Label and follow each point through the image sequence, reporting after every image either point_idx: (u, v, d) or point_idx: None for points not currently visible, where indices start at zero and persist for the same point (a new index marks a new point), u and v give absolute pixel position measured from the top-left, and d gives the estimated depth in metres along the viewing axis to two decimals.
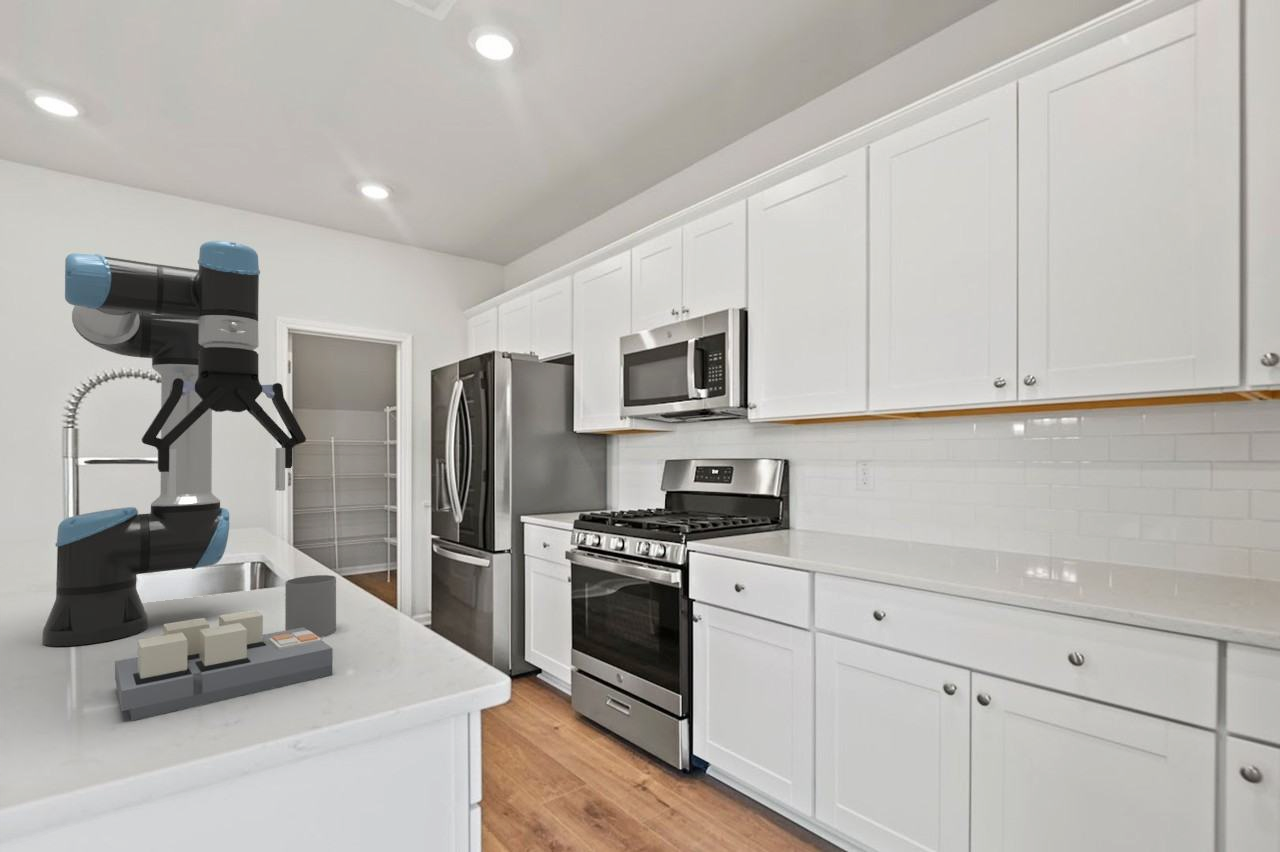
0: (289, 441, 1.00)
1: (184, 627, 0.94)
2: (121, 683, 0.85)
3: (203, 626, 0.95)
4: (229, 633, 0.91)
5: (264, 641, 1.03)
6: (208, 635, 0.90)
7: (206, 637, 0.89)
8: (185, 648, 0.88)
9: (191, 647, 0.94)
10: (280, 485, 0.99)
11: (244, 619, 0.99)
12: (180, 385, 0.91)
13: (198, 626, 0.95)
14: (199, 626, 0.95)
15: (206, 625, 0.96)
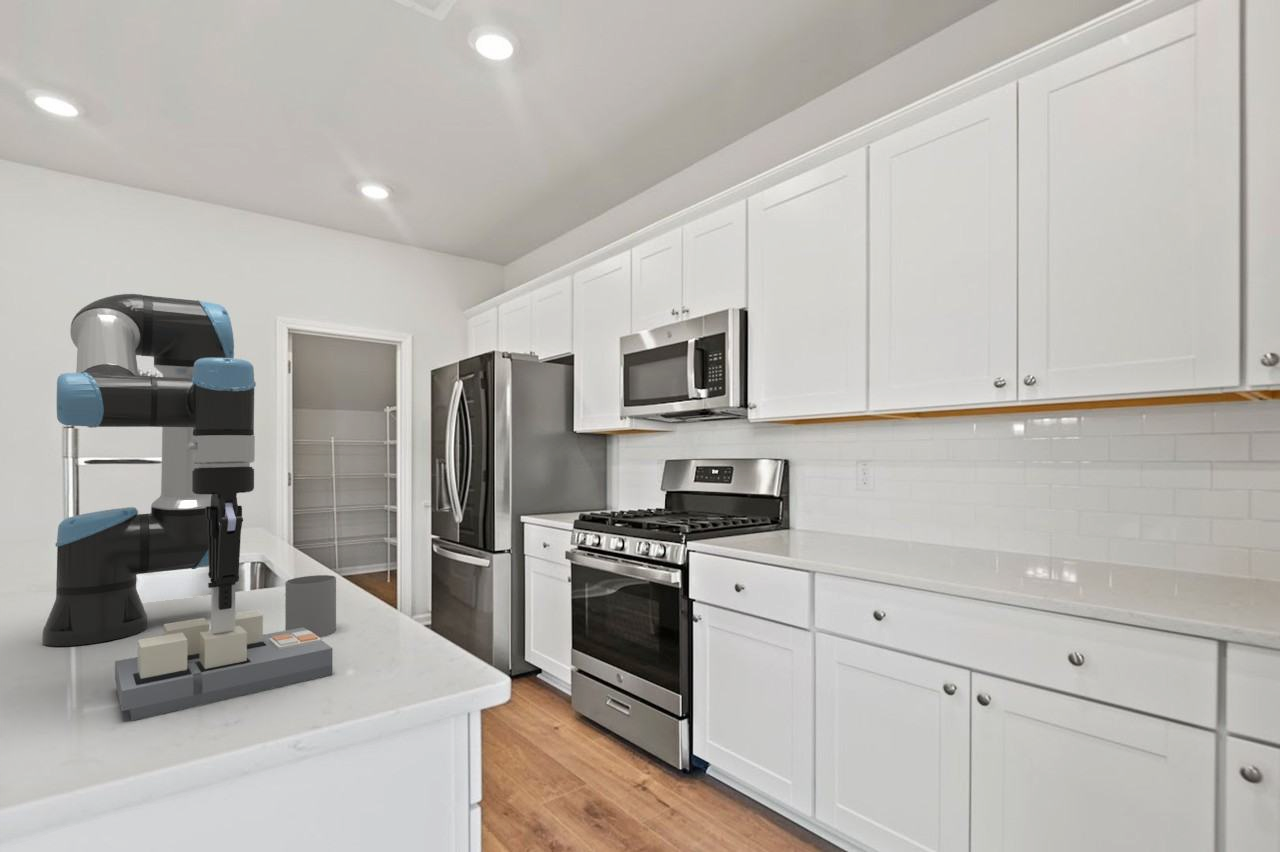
0: (214, 581, 0.91)
1: (184, 627, 0.94)
2: (121, 683, 0.85)
3: (203, 626, 0.95)
4: (229, 636, 0.91)
5: (264, 641, 1.03)
6: (208, 638, 0.90)
7: (206, 640, 0.89)
8: (185, 648, 0.88)
9: (191, 647, 0.94)
10: (212, 627, 0.92)
11: (244, 619, 0.99)
12: None
13: (198, 626, 0.95)
14: (199, 626, 0.95)
15: (206, 625, 0.96)
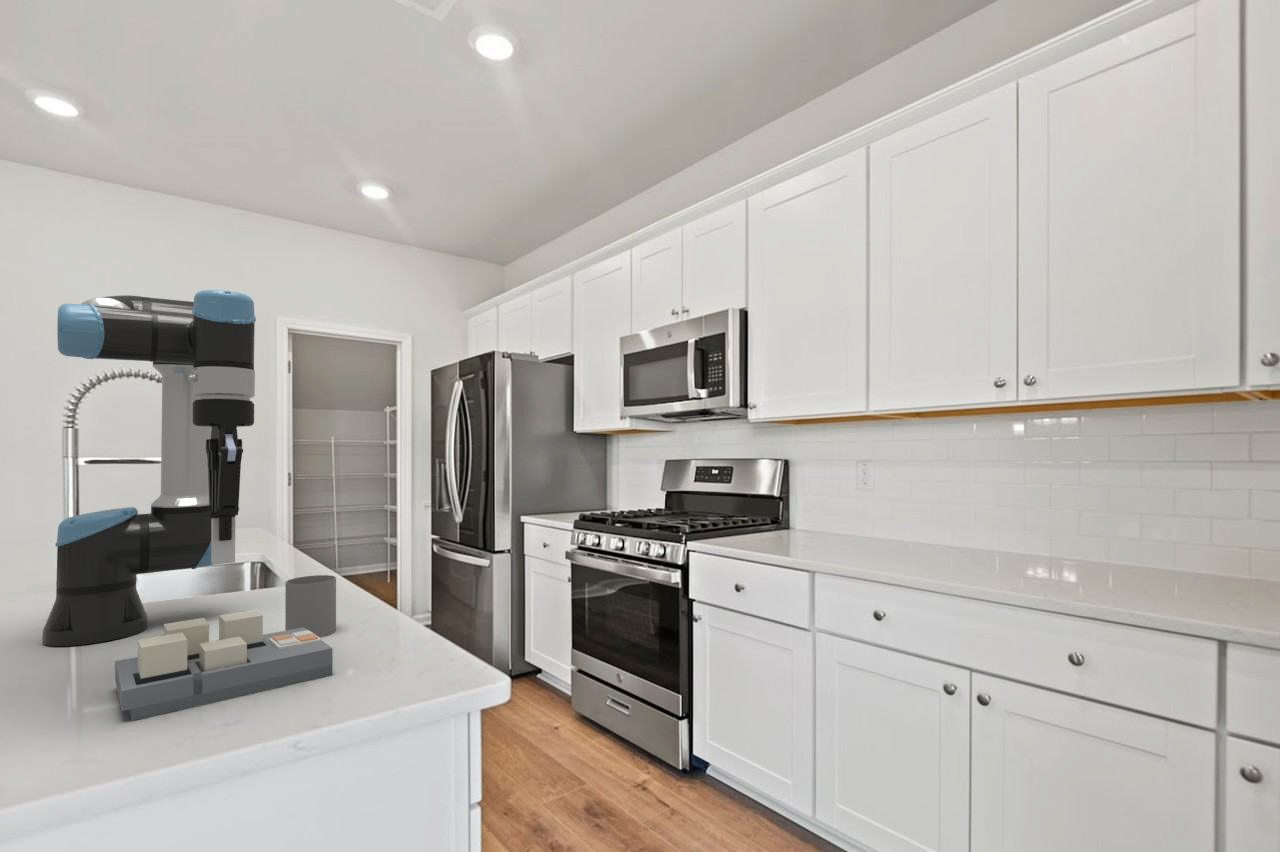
0: (214, 512, 0.92)
1: (184, 627, 0.94)
2: (121, 683, 0.85)
3: (203, 626, 0.95)
4: (229, 647, 0.91)
5: (264, 641, 1.03)
6: (208, 650, 0.90)
7: (206, 652, 0.89)
8: (185, 648, 0.88)
9: (191, 647, 0.94)
10: (212, 558, 0.92)
11: (244, 619, 0.99)
12: (207, 452, 0.97)
13: (198, 626, 0.95)
14: (199, 626, 0.95)
15: (206, 625, 0.96)
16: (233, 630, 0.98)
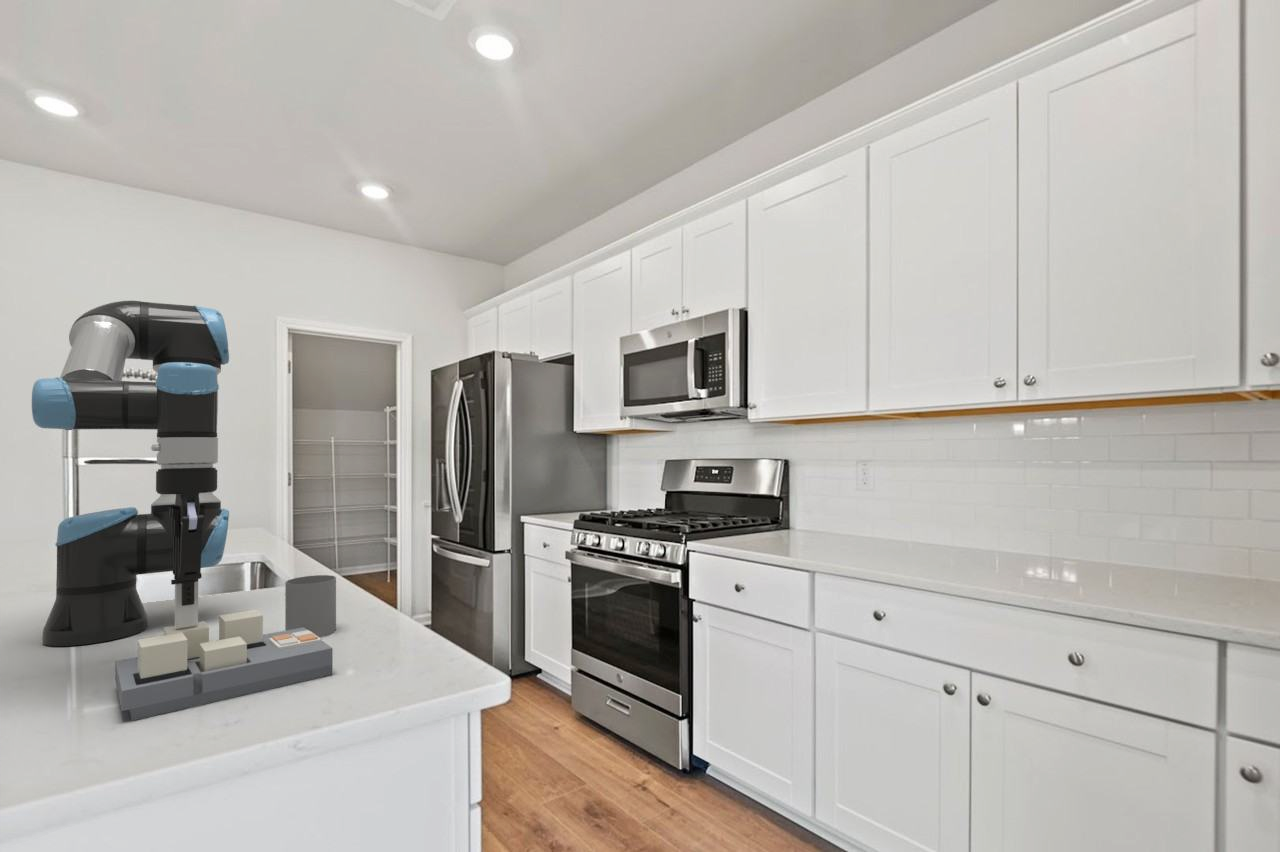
0: (177, 578, 0.94)
1: (184, 631, 0.94)
2: (121, 683, 0.85)
3: (203, 630, 0.95)
4: (229, 647, 0.91)
5: (264, 641, 1.03)
6: (208, 650, 0.90)
7: (206, 652, 0.89)
8: (185, 648, 0.88)
9: (191, 650, 0.94)
10: (175, 622, 0.95)
11: (244, 619, 0.99)
12: None
13: (198, 630, 0.95)
14: (199, 630, 0.95)
15: (206, 629, 0.96)
16: (233, 630, 0.98)
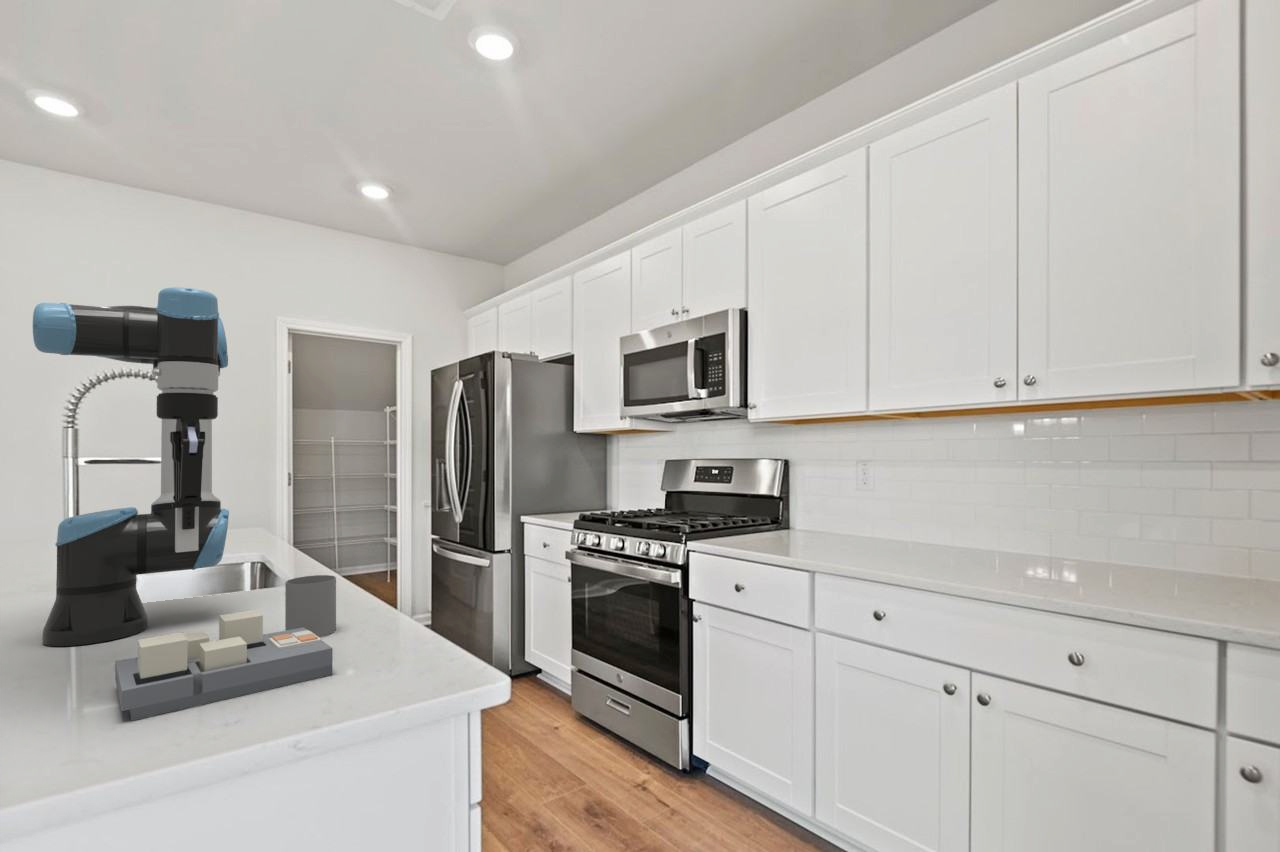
0: (178, 502, 0.95)
1: None
2: (121, 683, 0.85)
3: (203, 640, 0.95)
4: (229, 647, 0.91)
5: (264, 641, 1.03)
6: (208, 650, 0.90)
7: (206, 652, 0.89)
8: (185, 648, 0.88)
9: None
10: (176, 546, 0.96)
11: (244, 619, 0.99)
12: None
13: (198, 640, 0.95)
14: (199, 640, 0.95)
15: (206, 639, 0.96)
16: (233, 630, 0.98)
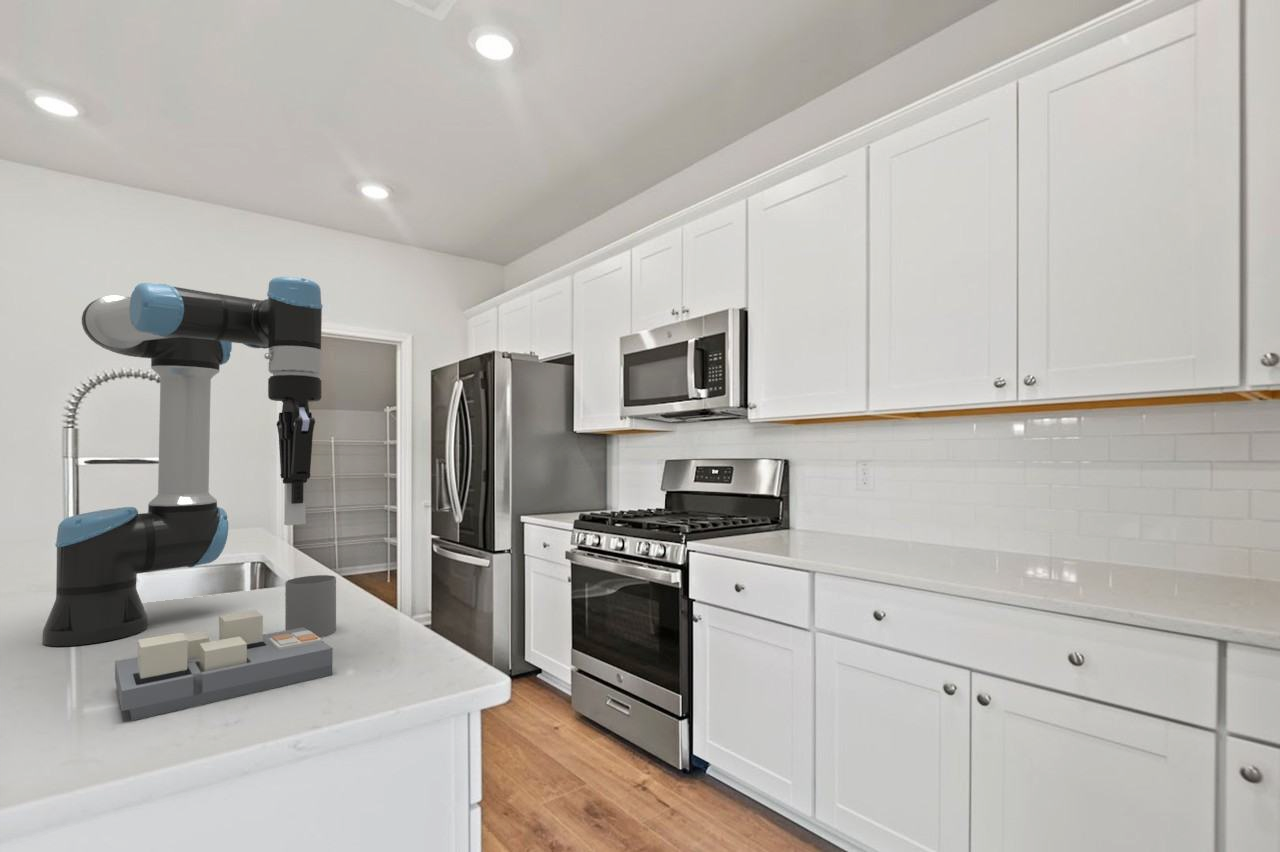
0: (288, 478, 1.01)
1: None
2: (121, 683, 0.85)
3: (203, 640, 0.95)
4: (229, 647, 0.91)
5: (264, 641, 1.03)
6: (208, 650, 0.90)
7: (206, 652, 0.89)
8: (185, 648, 0.88)
9: None
10: (285, 520, 1.02)
11: (244, 619, 0.99)
12: (278, 425, 1.07)
13: (198, 640, 0.95)
14: (199, 640, 0.95)
15: (206, 639, 0.96)
16: (233, 630, 0.98)
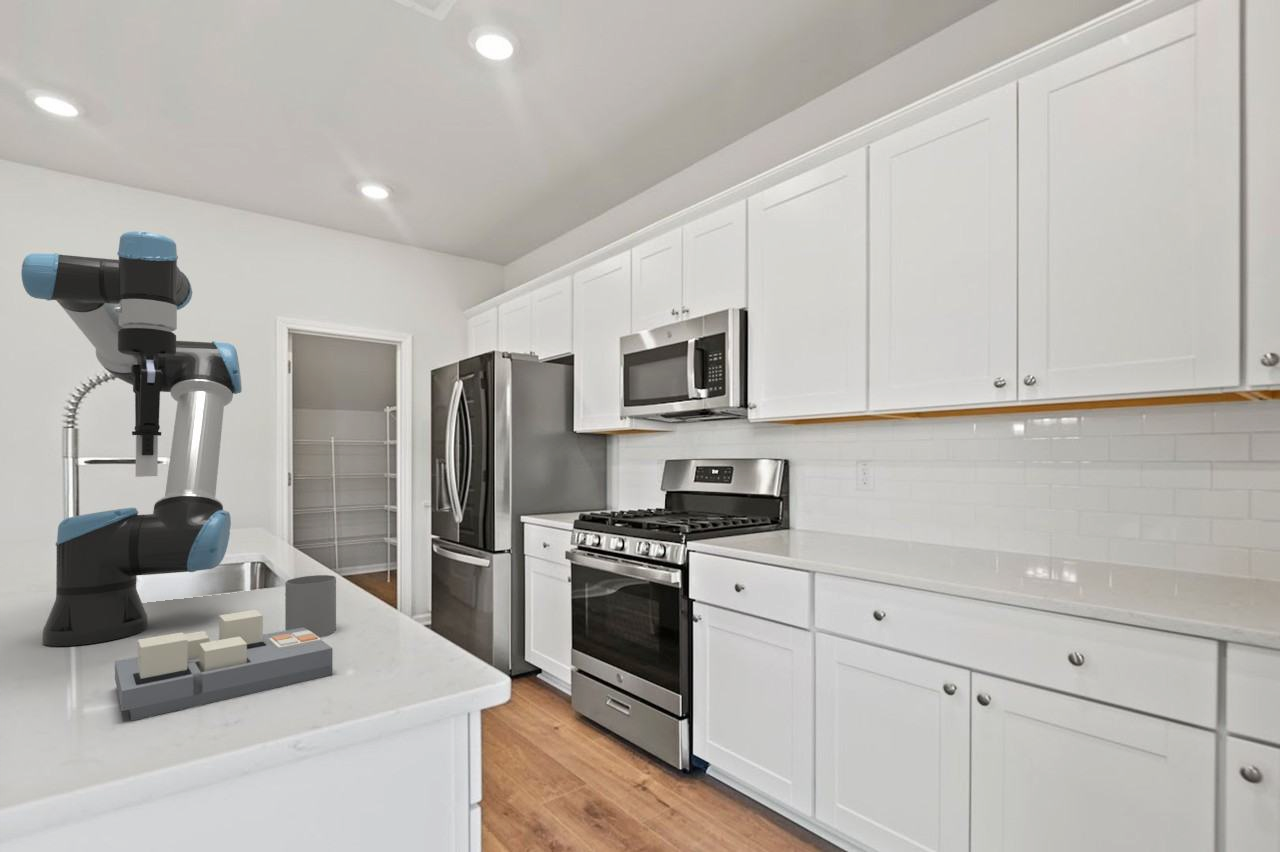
0: (137, 430, 1.02)
1: None
2: (121, 683, 0.85)
3: (203, 640, 0.95)
4: (229, 647, 0.91)
5: (264, 641, 1.03)
6: (208, 650, 0.90)
7: (206, 652, 0.89)
8: (185, 648, 0.88)
9: None
10: (136, 471, 1.03)
11: (244, 619, 0.99)
12: None
13: (198, 640, 0.95)
14: (199, 640, 0.95)
15: (206, 639, 0.96)
16: (233, 630, 0.98)
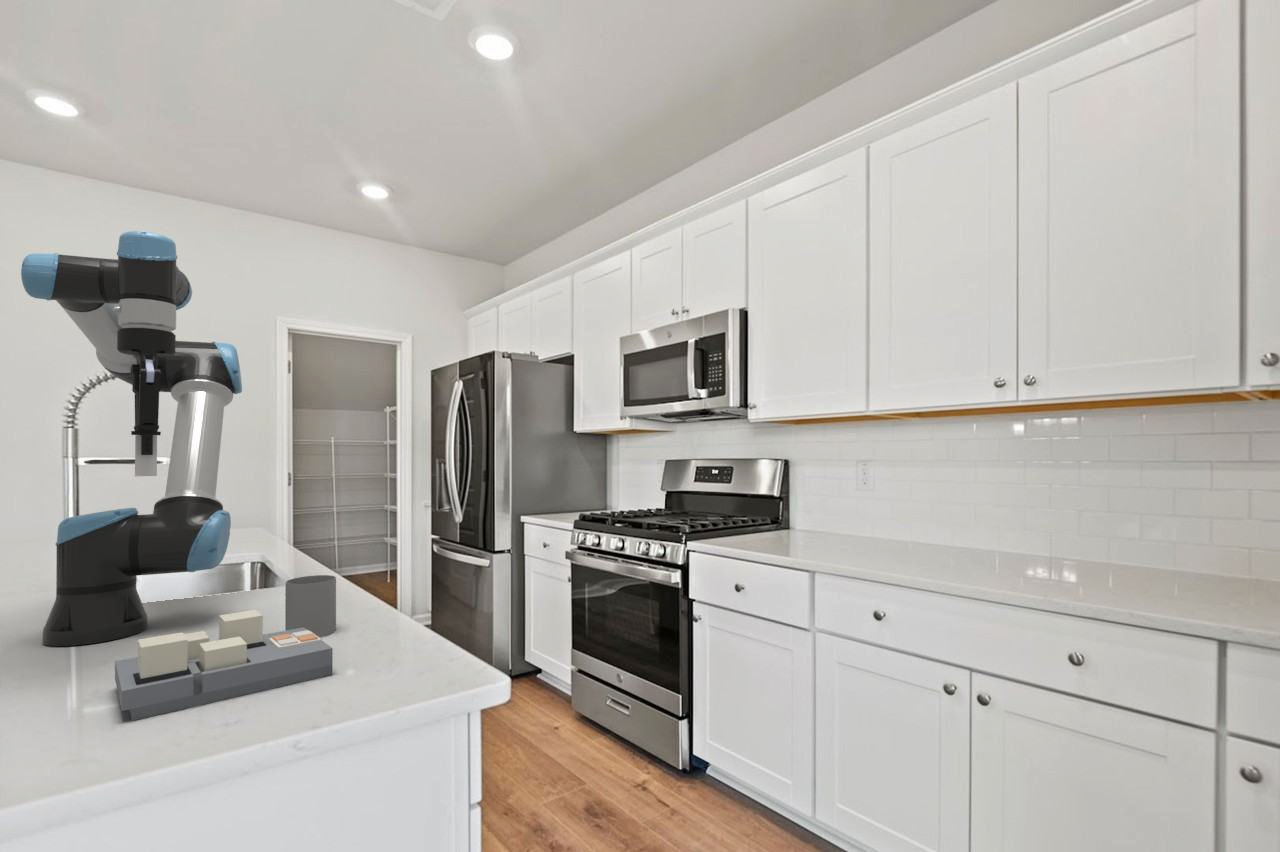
0: (137, 429, 1.02)
1: None
2: (121, 683, 0.85)
3: (203, 640, 0.95)
4: (229, 647, 0.91)
5: (264, 641, 1.03)
6: (208, 650, 0.90)
7: (206, 652, 0.89)
8: (185, 648, 0.88)
9: None
10: None
11: (244, 619, 0.99)
12: None
13: (198, 640, 0.95)
14: (199, 640, 0.95)
15: (206, 639, 0.96)
16: (233, 630, 0.98)
